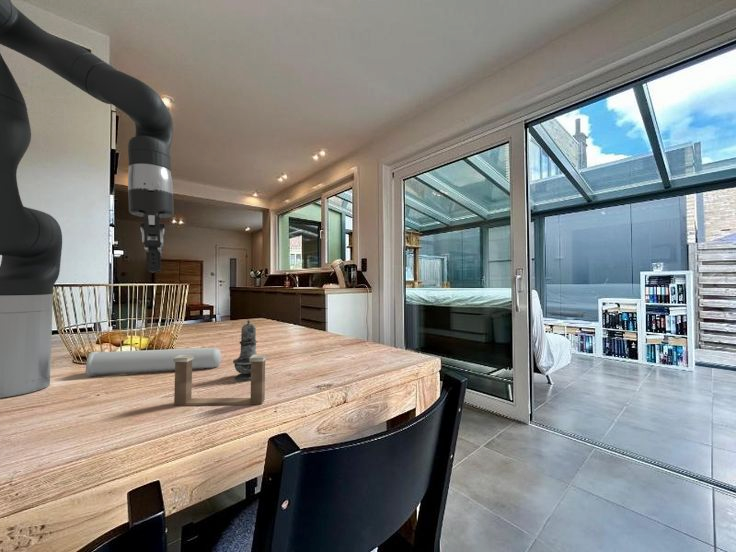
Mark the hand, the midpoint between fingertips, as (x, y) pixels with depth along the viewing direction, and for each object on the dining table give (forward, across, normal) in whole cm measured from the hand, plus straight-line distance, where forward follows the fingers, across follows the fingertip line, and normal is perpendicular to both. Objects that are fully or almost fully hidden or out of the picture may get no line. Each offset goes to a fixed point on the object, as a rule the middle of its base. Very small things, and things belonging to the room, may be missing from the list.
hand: (154, 271), depth 64 cm
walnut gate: (+22, +20, +9) cm, 31 cm away
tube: (+22, -8, 0) cm, 24 cm away
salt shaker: (+23, +8, +16) cm, 29 cm away
